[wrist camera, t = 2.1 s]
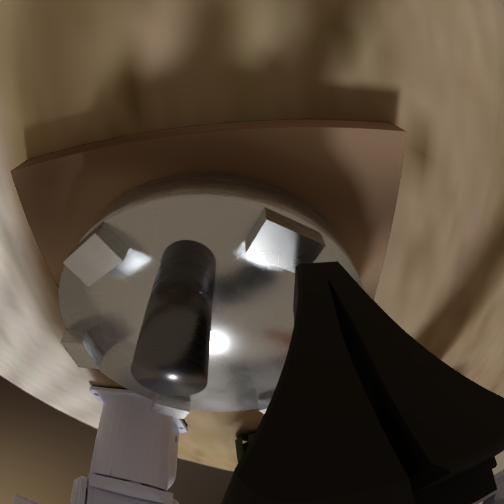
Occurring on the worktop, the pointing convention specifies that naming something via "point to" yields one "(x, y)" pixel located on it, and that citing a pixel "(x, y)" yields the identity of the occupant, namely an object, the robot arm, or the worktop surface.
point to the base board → (233, 163)
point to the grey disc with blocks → (193, 289)
